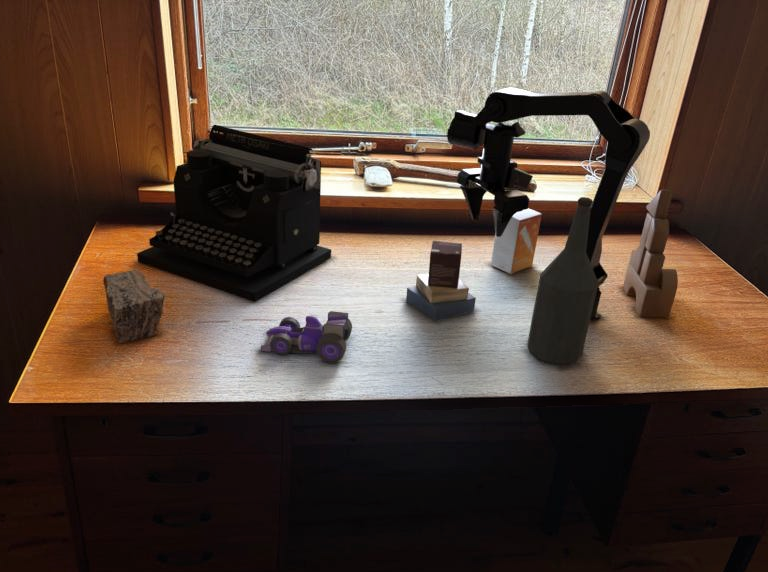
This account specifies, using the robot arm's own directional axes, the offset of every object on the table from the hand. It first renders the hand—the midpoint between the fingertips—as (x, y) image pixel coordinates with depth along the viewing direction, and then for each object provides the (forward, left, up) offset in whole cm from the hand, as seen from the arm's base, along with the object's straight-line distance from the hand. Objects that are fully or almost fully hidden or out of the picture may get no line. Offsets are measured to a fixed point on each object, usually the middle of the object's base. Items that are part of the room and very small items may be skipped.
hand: (486, 228), depth 156 cm
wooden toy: (-20, -30, -13) cm, 38 cm away
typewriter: (+27, +46, -13) cm, 55 cm away
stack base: (-7, +14, -12) cm, 20 cm away
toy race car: (-13, +45, -13) cm, 49 cm away
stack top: (-7, +14, -10) cm, 18 cm away
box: (-7, +14, -7) cm, 17 cm away
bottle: (-31, +3, -13) cm, 34 cm away
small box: (+5, -12, -13) cm, 18 cm away
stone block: (+5, +71, -13) cm, 72 cm away
